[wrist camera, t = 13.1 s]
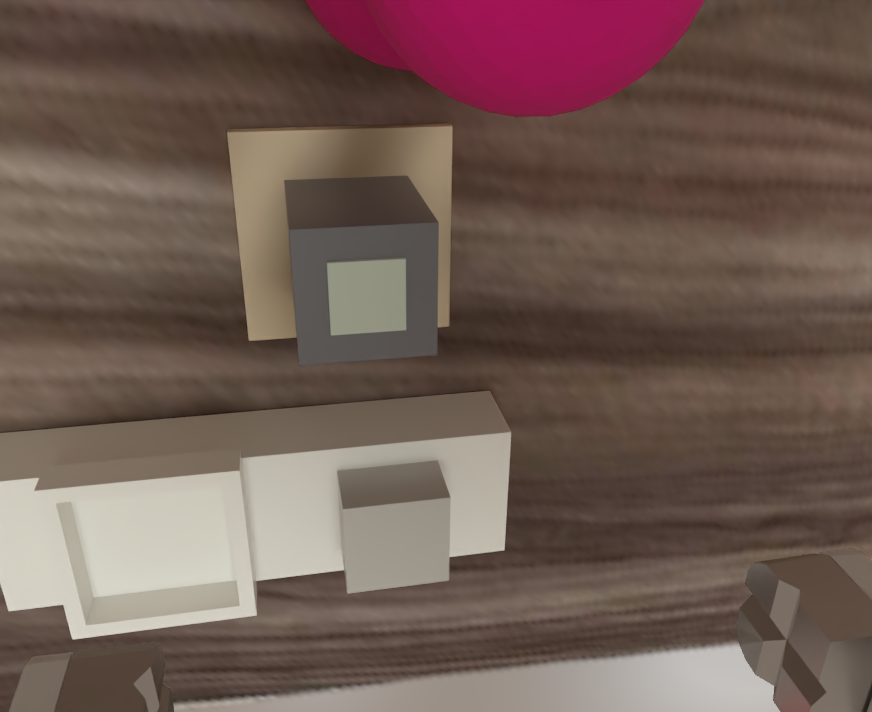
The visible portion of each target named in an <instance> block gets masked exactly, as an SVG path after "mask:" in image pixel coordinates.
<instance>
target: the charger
mask: <svg viewBox="0 0 872 712" xmlns="http://www.w3.org/2000/svg"><path fill="white" fill-rule="evenodd" d="M284 186H285V199H286V212H287V225H288V239H289V252H290V265H291V278H292V292H293V303H294V314H295V325H296V336H297V347H298V358H299V366H303V365H316V364H329V363H342V362H354V361H367V360H380V359H393V358H406V357H419V356H431V355H437V339H438V245H439V222H438V221H437V219H436V218H435V216H434V215H433V213H432V212H431V210H430V209H429V207H428V206H427V204H426V203H425V201H424V200H423V198H422V197H421V195H420V194H419V192H418V191H417V189H416V188H415V186H414V185H413V183H412V182H411V180H410V179H409V177H408V176H380V177H354V178H327V179H301V180H284Z"/></svg>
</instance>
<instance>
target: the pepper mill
mask: <svg viewBox="0 0 872 712" xmlns="http://www.w3.org/2000/svg"><path fill="white" fill-rule="evenodd" d="M305 1H306V3H307V4H308V6H309V7H310V9H311V11H312V12H313V14H314V15H315V17H316V18H317V20H318V21H319V22H320V23H321V24H322V26H323V27H324V28H325V29H326V30H327V31H328V32H329V34H330V35H331V36H333V37H334V38H335V39H336V40H337V41H339V42H340V43H341V44H342V45H344V46H345V47H346V48H347V49H349V50H350V51H351V52H353V53H355V54H357V55H359V56H361V57H363V58H365V59H367V60H369V61H371V62H373V63H376V64H380V65H383V66H386V67H390V68H394V69H400V70H407V71H413V72H414V73H415V74H417V75H418V76H419V77H420V78H422V79H423V80H424V81H425V82H427V83H428V84H430V85H431V86H433V87H434V88H436V89H438V90H439V91H441V92H443V93H444V94H446V95H448V96H449V97H451V98H453V99H455V100H458V101H460V102H462V103H465V104H468V105H470V106H473V107H476V108H479V109H481V110H484V111H487V112H491V113H497V114H503V115H509V116H515V117H527V116H553V115H557V114H562V113H567V112H572V111H576V110H581V109H583V108H585V107H588V106H590V105H593V104H595V103H597V102H600V101H602V100H605V99H607V98H609V97H611V96H612V95H614V94H616V93H617V92H619V91H620V90H622V89H624V88H625V87H627V86H628V85H630V84H632V83H633V82H635V81H636V80H638V79H639V78H640V77H642V76H643V75H644V74H645V73H646V72H648V71H649V70H650V69H651V68H652V67H653V66H654V65H656V64H657V63H658V62H659V61H660V60H661V59H662V58H664V57H665V56H666V55H667V54H668V52H669V51H670V50H671V49H672V48H673V46H674V45H675V44H676V43H677V42H678V40H679V39H680V38H681V37H682V36H683V34H684V33H685V32H686V31H687V29H688V28H689V26H690V24H691V23H692V21H693V19H694V18H695V16H696V14H697V13H698V11H699V9H700V8H701V6H702V4H703V2H704V0H305Z"/></svg>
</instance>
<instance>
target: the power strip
mask: <svg viewBox="0 0 872 712" xmlns="http://www.w3.org/2000/svg"><path fill="white" fill-rule="evenodd" d="M510 447H511V430H510V428H509V427H508V425H507V423H506V421H505V419H504V417H503V415H502V413H501V411H500V409H499V408H498V406H497V404H496V402H495V400H494V398H493V396H492V394H491V392H490V391H479V392H468V393H456V394H445V395H433V396H422V397H410V398H399V399H387V400H376V401H364V402H353V403H341V404H330V405H318V406H306V407H295V408H283V409H272V410H260V411H249V412H237V413H226V414H214V415H203V416H191V417H180V418H168V419H157V420H145V421H134V422H122V423H111V424H99V425H88V426H76V427H65V428H53V429H42V430H30V431H19V432H7V433H0V584H1V587H2V590H3V594H4V597H5V600H6V604H7V607H8V610H9V611H15V610H23V609H31V608H39V607H48V606H56V605H64V609H65V613H66V617H67V621H68V625H69V629H70V632H71V636H72V639H80V638H88V637H95V636H103V635H111V634H118V633H126V632H134V631H141V630H149V629H157V628H164V627H172V626H180V625H187V624H195V623H203V622H210V621H218V620H226V619H233V618H241V617H249V616H256V615H257V585H256V581H259V580H267V579H275V578H283V577H291V576H300V575H308V574H316V573H324V572H332V571H340V570H344V573H345V580H346V588H347V594H348V593H355V592H363V591H371V590H379V589H387V588H394V587H402V586H410V585H418V584H426V583H433V582H441V581H449V557H454V556H462V555H470V554H478V553H486V552H495V551H503V550H504V549H505V532H506V515H507V498H508V481H509V464H510Z"/></svg>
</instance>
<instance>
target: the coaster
mask: <svg viewBox="0 0 872 712" xmlns="http://www.w3.org/2000/svg"><path fill="white" fill-rule="evenodd" d="M452 133H453V126H452V125H451V124H450V123H438V124H401V125H363V126H325V127H288V128H250V129H228V130H227V136H228V146H229V155H230V165H231V174H232V184H233V193H234V203H235V213H236V222H237V232H238V241H239V251H240V260H241V270H242V280H243V289H244V299H245V308H246V318H247V328H248V337H249V341H255V340H269V339H283V338H297V336H296V325H295V314H294V303H293V292H292V278H291V265H290V252H289V239H288V225H287V212H286V199H285V186H284V180H301V179H327V178H354V177H380V176H408V177H409V179H410V180H411V182H412V183H413V185H414V186H415V188H416V189H417V191H418V192H419V194H420V195H421V197H422V198H423V200H424V201H425V203H426V204H427V206H428V207H429V209H430V210H431V212H432V213H433V215H434V216H435V218H436V219H437V221H438V222H439V245H438V327H449V303H450V246H451V190H452Z"/></svg>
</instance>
